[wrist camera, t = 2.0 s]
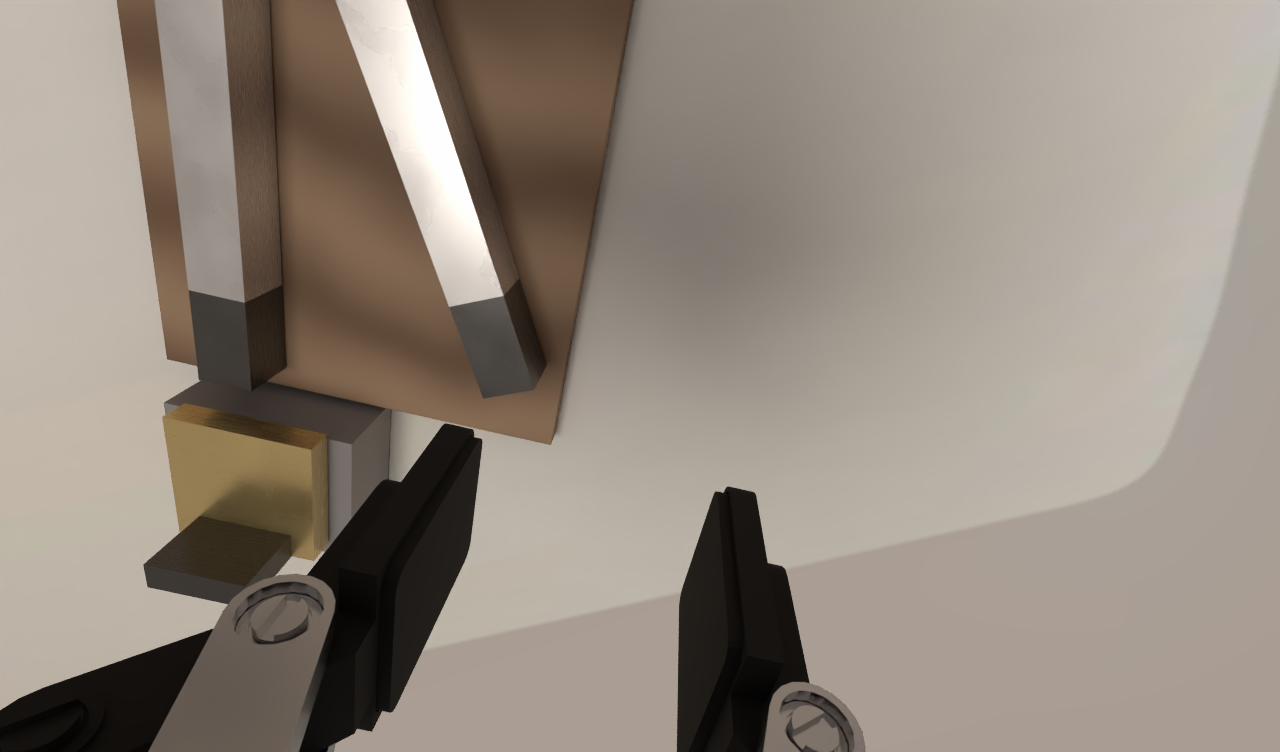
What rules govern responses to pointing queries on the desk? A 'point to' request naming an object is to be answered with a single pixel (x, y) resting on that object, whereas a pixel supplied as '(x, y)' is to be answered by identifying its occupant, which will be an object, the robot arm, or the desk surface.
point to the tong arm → (447, 186)
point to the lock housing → (348, 424)
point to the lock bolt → (239, 502)
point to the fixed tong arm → (226, 183)
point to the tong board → (407, 198)
